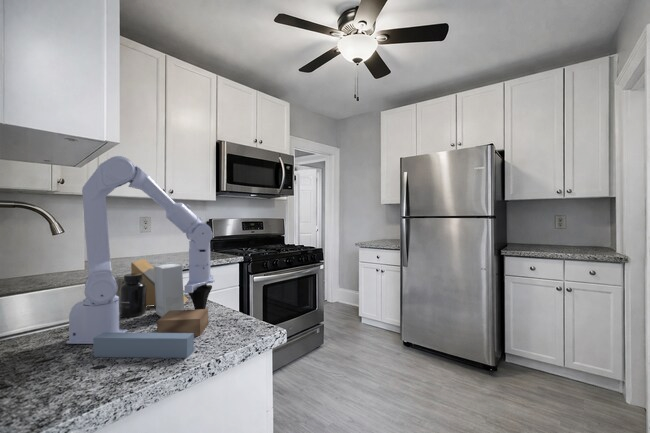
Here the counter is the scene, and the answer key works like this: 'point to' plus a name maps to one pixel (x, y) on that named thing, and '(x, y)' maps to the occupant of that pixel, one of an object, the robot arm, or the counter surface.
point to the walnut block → (183, 321)
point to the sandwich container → (147, 279)
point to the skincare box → (168, 288)
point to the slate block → (144, 345)
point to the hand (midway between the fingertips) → (200, 311)
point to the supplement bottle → (133, 296)
